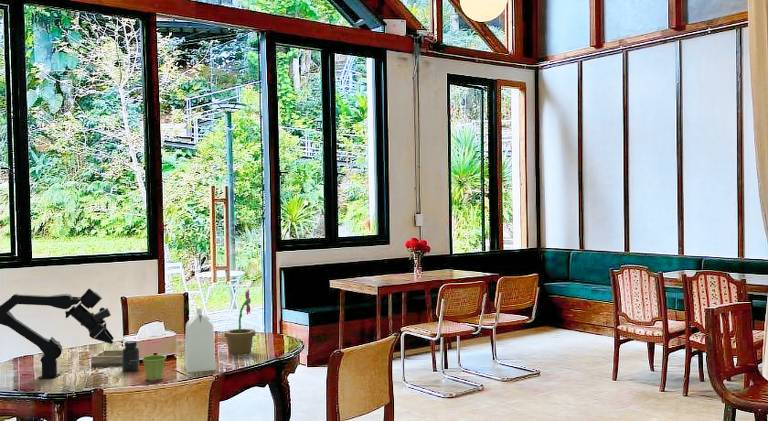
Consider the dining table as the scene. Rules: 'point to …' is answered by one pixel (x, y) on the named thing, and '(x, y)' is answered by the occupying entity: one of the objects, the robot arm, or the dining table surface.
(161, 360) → the plant pot
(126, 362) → the supplement bottle
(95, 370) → the dining table surface
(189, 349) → the milk
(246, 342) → the flowerpot
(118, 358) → the box
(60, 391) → the dining table surface
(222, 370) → the dining table surface
